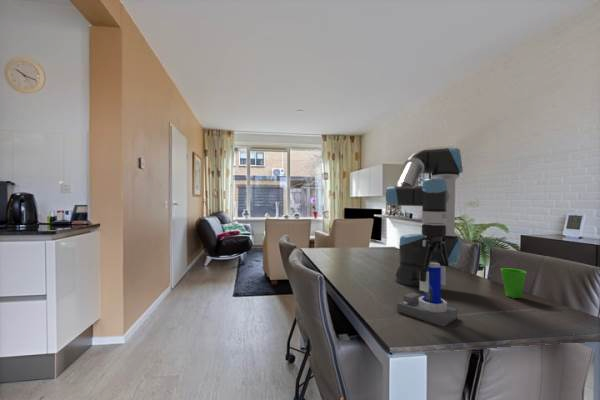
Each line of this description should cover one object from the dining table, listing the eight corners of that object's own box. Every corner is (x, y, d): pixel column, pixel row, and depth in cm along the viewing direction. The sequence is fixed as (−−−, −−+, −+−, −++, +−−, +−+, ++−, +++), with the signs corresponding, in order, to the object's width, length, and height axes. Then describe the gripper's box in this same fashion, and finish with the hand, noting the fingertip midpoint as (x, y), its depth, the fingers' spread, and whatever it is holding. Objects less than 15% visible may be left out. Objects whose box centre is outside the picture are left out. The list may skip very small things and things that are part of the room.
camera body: (396, 311, 103) (397, 295, 103) (412, 304, 110) (412, 290, 110) (443, 326, 91) (443, 309, 91) (457, 317, 98) (457, 301, 98)
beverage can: (421, 305, 102) (421, 261, 102) (435, 304, 102) (435, 261, 102) (429, 310, 96) (429, 264, 97) (444, 309, 97) (443, 264, 97)
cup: (531, 301, 116) (532, 273, 116) (506, 299, 118) (506, 272, 118) (519, 294, 125) (519, 268, 125) (495, 292, 127) (496, 267, 127)
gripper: (428, 226, 88) (427, 297, 88) (459, 223, 104) (458, 283, 104) (405, 224, 94) (404, 291, 94) (438, 222, 110) (437, 279, 110)
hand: (432, 287), depth 99 cm, fingers open, 12 cm apart
